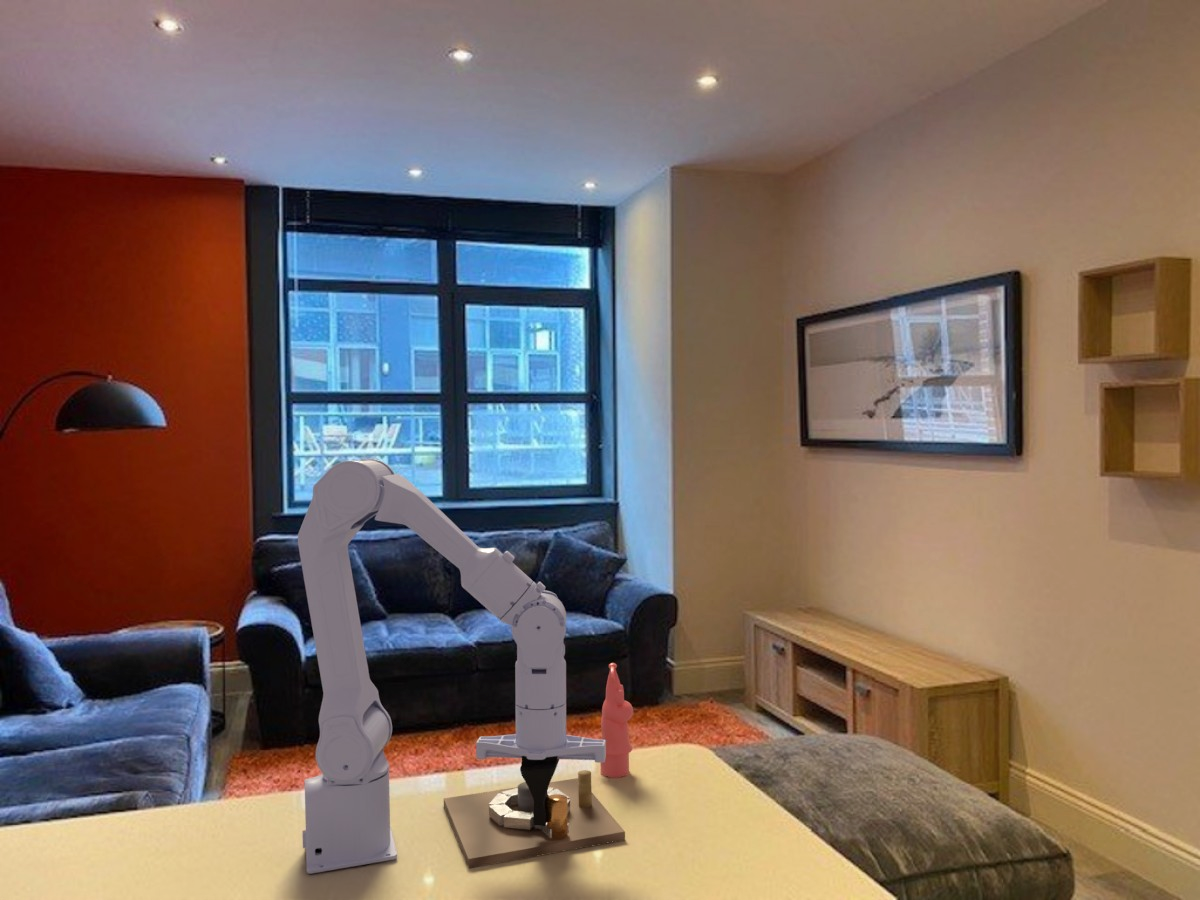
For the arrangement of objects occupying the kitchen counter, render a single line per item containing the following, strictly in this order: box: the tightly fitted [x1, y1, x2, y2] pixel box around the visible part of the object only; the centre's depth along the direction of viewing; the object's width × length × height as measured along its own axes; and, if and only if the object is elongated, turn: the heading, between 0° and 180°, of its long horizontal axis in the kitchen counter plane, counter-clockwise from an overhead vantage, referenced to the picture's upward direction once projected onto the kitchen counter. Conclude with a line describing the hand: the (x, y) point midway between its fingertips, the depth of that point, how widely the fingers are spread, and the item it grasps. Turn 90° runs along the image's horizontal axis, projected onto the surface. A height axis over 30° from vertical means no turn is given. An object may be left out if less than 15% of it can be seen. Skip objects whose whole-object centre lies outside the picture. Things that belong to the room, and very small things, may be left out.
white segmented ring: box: [489, 787, 570, 839], centre depth 103 cm, size 13×9×4 cm
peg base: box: [443, 769, 626, 869], centre depth 105 cm, size 18×17×5 cm
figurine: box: [600, 662, 634, 778], centre depth 120 cm, size 5×5×15 cm
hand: (541, 821), depth 99 cm, fingers closed, pressing on white segmented ring
